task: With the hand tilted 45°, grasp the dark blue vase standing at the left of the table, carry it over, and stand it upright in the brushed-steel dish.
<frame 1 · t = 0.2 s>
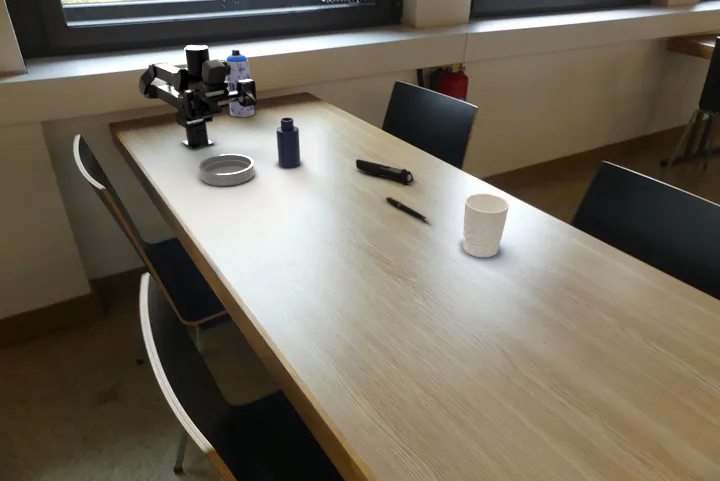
hand: (239, 106, 126), 17 cm above the table, tool horizontal, fingers open, 9 cm apart
dark blue vase: (289, 164, 139), on the table
aerosol can: (242, 113, 175), on the table
electric trimmer: (383, 177, 133), on the table
steel dish: (228, 175, 132), on the table
fountain pen: (406, 212, 117), on the table
white cup: (480, 249, 104), on the table
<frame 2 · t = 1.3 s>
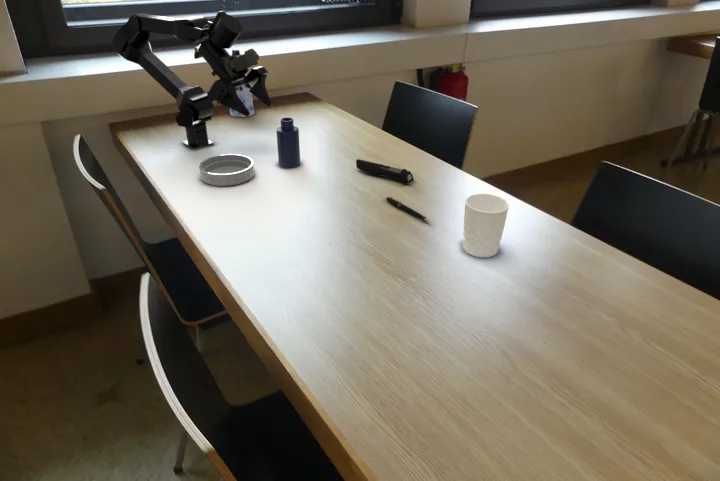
hand: (259, 110, 135), 13 cm above the table, tool tilted 45°, fingers open, 9 cm apart
nothing on the table moved.
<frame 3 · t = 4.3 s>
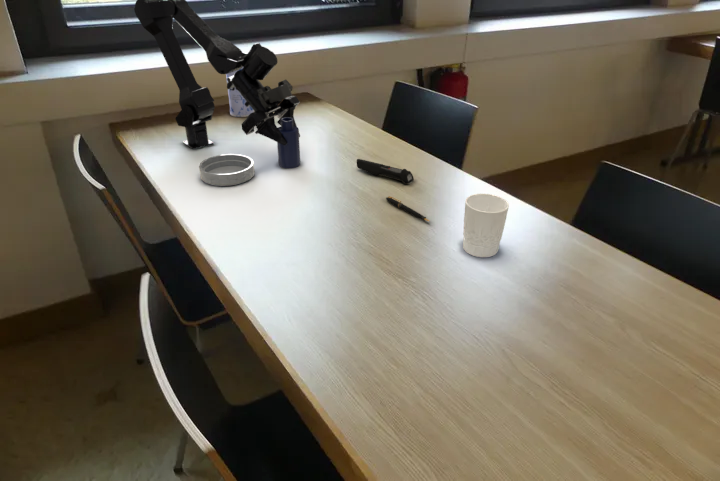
hand: (292, 141, 135), 7 cm above the table, tool tilted 45°, fingers closed on dark blue vase, 5 cm apart
dark blue vase: (289, 164, 139), on the table, touching gripper
everything else where it was.
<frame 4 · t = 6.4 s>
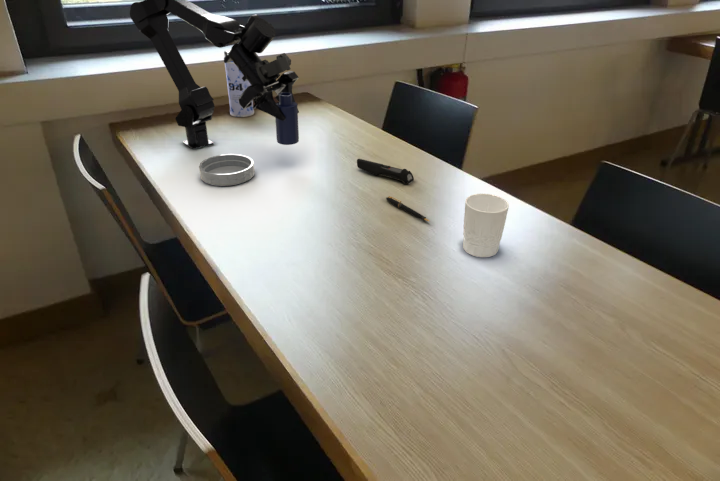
hand: (291, 116, 132), 13 cm above the table, tool tilted 45°, fingers closed on dark blue vase, 5 cm apart
dark blue vase: (287, 141, 135), point 6 cm above the table, touching gripper
everything else where it was.
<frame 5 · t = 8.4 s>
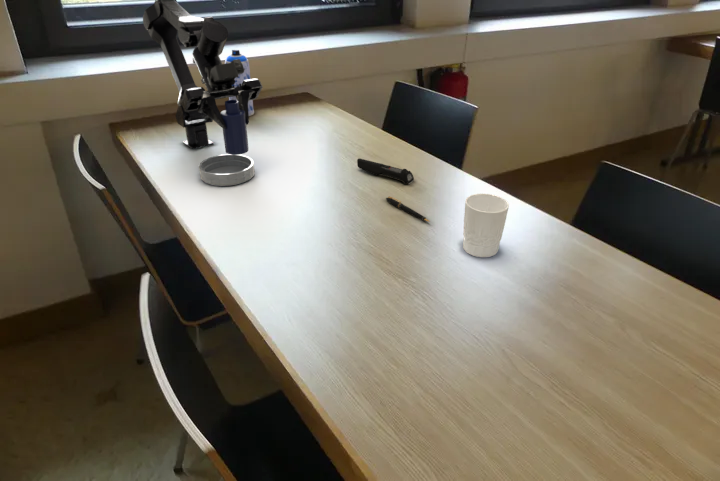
hand: (236, 126, 125), 13 cm above the table, tool tilted 45°, fingers closed on dark blue vase, 5 cm apart
dark blue vase: (237, 150, 129), point 6 cm above the table, touching gripper
everything else where it was.
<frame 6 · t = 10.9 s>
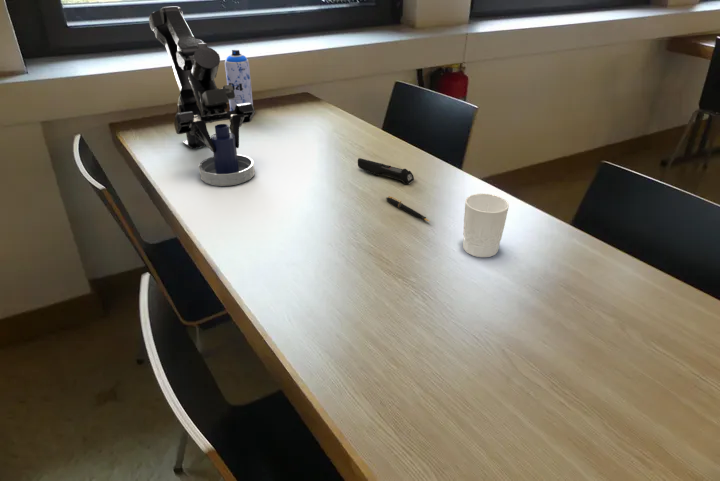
hand: (226, 149, 127), 7 cm above the table, tool tilted 45°, fingers closed on dark blue vase, 5 cm apart
dark blue vase: (227, 172, 132), point 1 cm above the table, touching gripper
everything else where it was.
when the fingers open (7 cm above the table, at t = 11.4 s): dark blue vase stays where it is, resting on steel dish.
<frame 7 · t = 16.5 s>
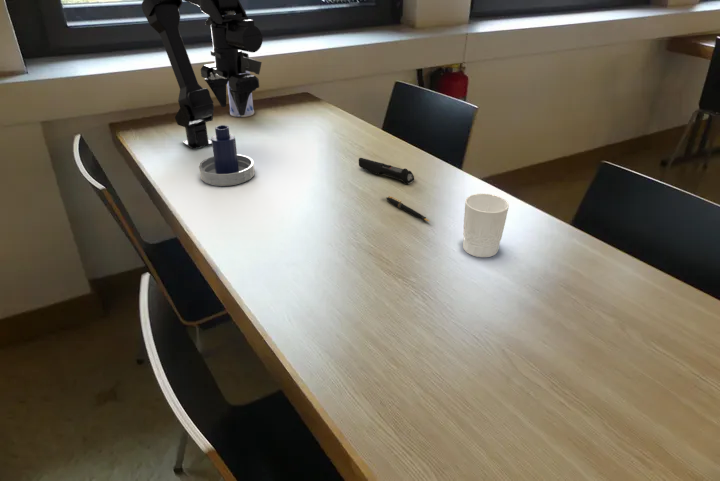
hand: (233, 111, 135), 13 cm above the table, tool pointing down, fingers open, 9 cm apart
dark blue vase: (227, 174, 132), resting on steel dish
everything else where it was.
at the end: dark blue vase 0.1 cm off-centre in the steel dish, point 0.4 cm above the steel dish's base; dark blue vase tilted 0°; the gripper is holding nothing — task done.
